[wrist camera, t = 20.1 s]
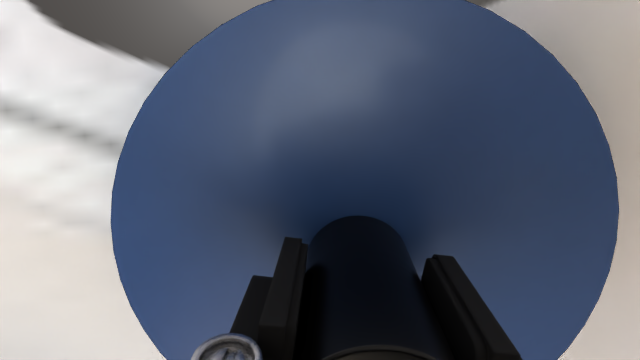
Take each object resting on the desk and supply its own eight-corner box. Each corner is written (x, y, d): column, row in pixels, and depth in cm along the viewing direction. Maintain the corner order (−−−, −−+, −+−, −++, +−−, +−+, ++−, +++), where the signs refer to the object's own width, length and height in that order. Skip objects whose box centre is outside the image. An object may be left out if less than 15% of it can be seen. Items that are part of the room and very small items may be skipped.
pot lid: (165, -87, 10) (-168, -414, 3) (698, 85, 11) (1280, 97, 4) (106, 362, 15) (-76, 590, 8) (474, 457, 16) (578, 732, 9)
